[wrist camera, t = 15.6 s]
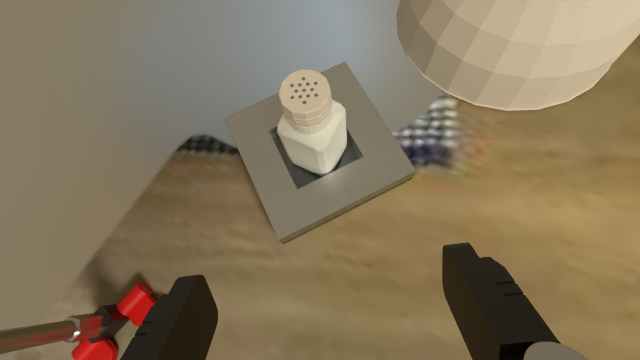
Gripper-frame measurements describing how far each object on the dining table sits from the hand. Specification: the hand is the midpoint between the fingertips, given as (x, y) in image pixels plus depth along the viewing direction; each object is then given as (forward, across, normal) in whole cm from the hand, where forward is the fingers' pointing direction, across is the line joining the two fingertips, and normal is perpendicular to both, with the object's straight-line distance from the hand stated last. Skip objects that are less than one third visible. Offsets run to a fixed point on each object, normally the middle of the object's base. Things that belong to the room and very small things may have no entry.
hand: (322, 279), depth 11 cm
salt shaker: (+19, +1, +3) cm, 19 cm away
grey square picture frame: (+19, +1, +3) cm, 19 cm away
